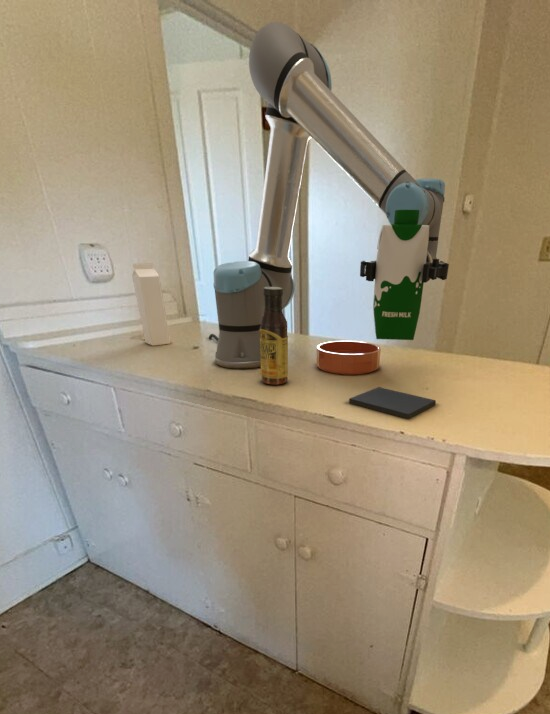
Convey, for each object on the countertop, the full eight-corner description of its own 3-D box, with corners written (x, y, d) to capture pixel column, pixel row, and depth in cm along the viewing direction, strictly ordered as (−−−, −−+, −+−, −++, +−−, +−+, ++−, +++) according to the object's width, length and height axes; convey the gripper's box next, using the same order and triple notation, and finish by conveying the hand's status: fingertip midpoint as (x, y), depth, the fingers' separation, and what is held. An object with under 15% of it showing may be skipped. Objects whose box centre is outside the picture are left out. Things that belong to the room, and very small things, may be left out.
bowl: (304, 367, 112) (303, 347, 109) (342, 356, 122) (342, 338, 120) (354, 379, 103) (355, 357, 100) (390, 366, 114) (392, 346, 111)
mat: (348, 403, 88) (349, 398, 87) (378, 391, 95) (378, 386, 94) (408, 419, 80) (408, 414, 80) (435, 405, 87) (436, 400, 87)
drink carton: (371, 340, 79) (381, 209, 69) (370, 331, 87) (378, 212, 76) (419, 341, 79) (436, 209, 68) (413, 332, 86) (428, 212, 76)
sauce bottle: (256, 382, 100) (249, 287, 89) (275, 377, 104) (271, 285, 93) (274, 388, 96) (270, 289, 85) (294, 382, 100) (292, 287, 89)
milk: (145, 342, 136) (129, 263, 124) (163, 340, 139) (149, 262, 127) (152, 346, 132) (136, 263, 120) (171, 343, 135) (157, 263, 123)
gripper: (462, 288, 91) (457, 299, 73) (362, 284, 96) (335, 294, 78) (469, 246, 87) (465, 248, 69) (364, 245, 92) (336, 246, 74)
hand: (396, 272), depth 73 cm, fingers closed on drink carton, 9 cm apart
